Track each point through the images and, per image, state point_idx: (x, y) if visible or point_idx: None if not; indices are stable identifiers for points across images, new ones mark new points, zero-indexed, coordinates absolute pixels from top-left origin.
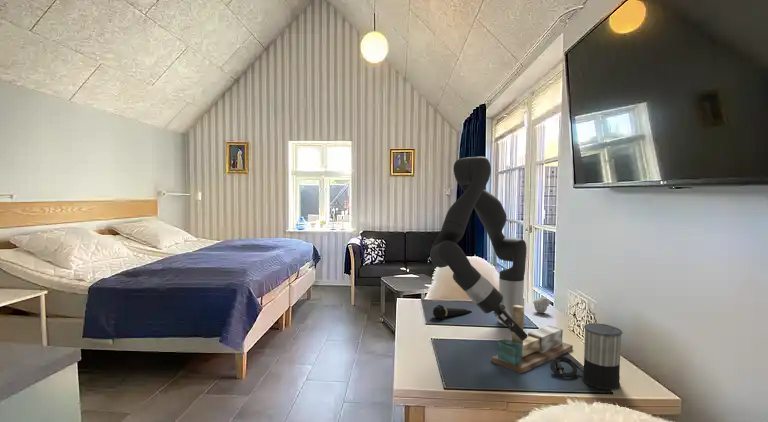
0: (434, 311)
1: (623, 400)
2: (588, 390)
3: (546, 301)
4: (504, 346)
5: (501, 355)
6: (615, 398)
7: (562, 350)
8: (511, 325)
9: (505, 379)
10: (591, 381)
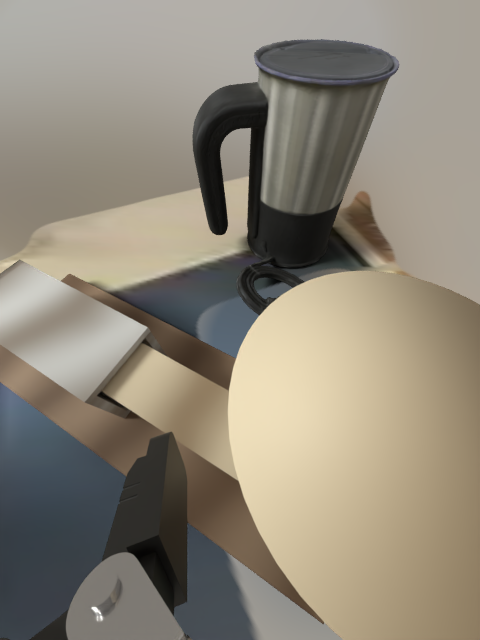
0: None
1: (353, 215)
2: (350, 260)
3: None
4: None
5: None
6: (354, 224)
7: (119, 300)
8: (184, 533)
9: None
10: (324, 246)
